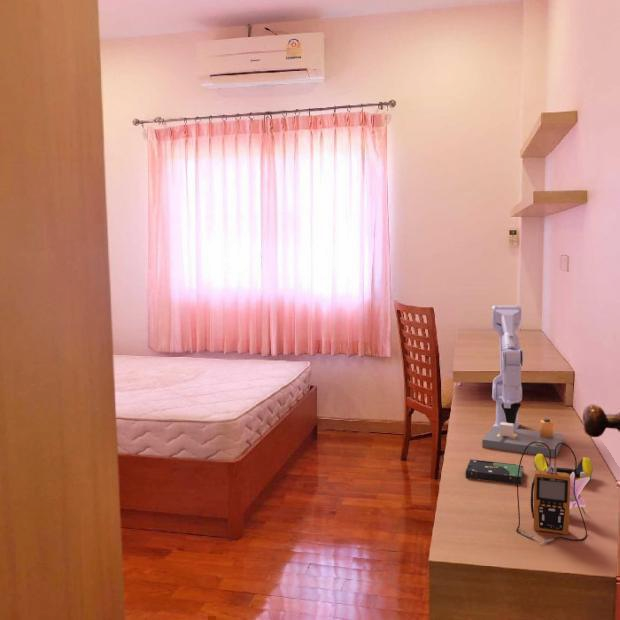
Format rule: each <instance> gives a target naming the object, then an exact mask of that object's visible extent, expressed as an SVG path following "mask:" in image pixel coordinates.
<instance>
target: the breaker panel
mask: <svg viewBox="0 0 620 620" xmlns="http://www.w3.org/2000/svg"><path fill="white" fill-rule="evenodd" d="M532 442H542V443H544V444H546V445H547V446H548V447H549V449H550V451H551V458H555V448H556V446H557V444H558V443H564V434H563V433H555V432H553V438H543V437H540V430H531V429H522V428H517V429H516V428H514V435H513V436H512V437H509V436H502V435H499V426H494V427H493V426H492V428H491V429H490V430H489V432H488V433H487V434H486V435H485V436H484V437H483V438H482V444H481V445H482V448H484V447H487V449H492V450H500V451H506V450H507V452H513V451H514V453H515V452H516V453H520V452H521V453H522V454H523V452H524V450H525V448H526V447H527V446H528V445H529V444H530V443H532ZM542 443H532V444H531V445H529V446H528V448H527V449H526V451H525V453H524V454H527V453H528V454H527V455H534V454H535V455H534V456H536V455H537V454H543V456H544V457H549V455H550V452H549V449H548V448H547V446H545V445H544V444H542ZM562 445H563V444H559V445H558V446H557V448H556V457H557V455H558V453H559V451H560V449H561V447H562Z"/></svg>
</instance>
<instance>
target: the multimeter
mask: <svg viewBox="0 0 620 620" xmlns="http://www.w3.org/2000/svg"><path fill="white" fill-rule="evenodd" d="M532 443H542V442H532ZM532 443H530V444H529V445H531V444H532ZM542 444H544V443H542ZM559 444H562V445H563V446H566V447H567V448H568V449H569V451H571V453H572V454H573V458H574V462H575V465H574V466H575V467H574V469H575V476H574V487H573V491H574V496H575V499H576V495H575V478H576V468H577V466H578V465H577V464H578V463H577V457H576V455H575V452H574V451H573V449H572V448H571V447H570V446H569V445H567V444H566V443H564V442H563V443H558V444H557V446H558V445H559ZM529 445H528V446H529ZM544 445H545V446H547V445H546V444H544ZM528 446H527V447H526V448H525V450H524V452H523V453H522V455H521V457H520V460H519V464H518V465H519V469H518V476H517V484H516V491H517V492H516V493H517V496H516V497H517V512H518V515H517V516H518V526H517V528H516V531H515V532H517V533H520V534H521V535H522V536H525V537H527V538H529V539H533V540H536V541H539V542H540V540H539V539H538V538H536V537H533V536H532V535H530V534H527V533H525V532H522V531H519V528H520V526H521V520H520V517H521V515H520V499H519V484H518V478H519V470H520V465H521V464H522V461H523V458H524V455H525V454H526V453H525V451H526V449H527V448H528ZM557 446H556V448H557ZM547 448H548V449H549V447H548V446H547ZM556 448H555V457H554V461H553V467H552V460H551V459H552V457H551V451H550V449H549V452H550V455H549V456H548V457H549V459H548V464H549V466H548V471H541V470H536V469H535V470H534V477H533V480H532V482H531V490H530V511H531V517H532V519H533V529H534V531H537V532H540V531H541V532H548V533H555V534H560V535H565V536H566V535H568V534H569V533H570V532H569V528H570V525H569V524H570V510H571V509H570V475H569V474H568V473H560V472H556V467H557V460H556V458H557V456H556ZM521 466H522V465H521ZM551 467H552V468H553V472H551ZM576 502H577V505H578V507H577V508H578V510H579V515H580V516H581V519H582V523H583V527H584V530H585V535H584V537H582V538H581V539H577V538H576V539H575V538H574V539H572V538H568V537H563V536H557V537H553V538H549V539H547V540H544V541H543V542H540V543H538V545H543V544H547V543H550V542H553V541H555V540H557V539H564V540H566V541H567V540H569V541H577V542H578V541H583V540H585V539H586V538H587V536H588V530H587V527H586V523H585V520H584V517H583V514H582V511H581V510H582V509H581V507H579V504H578V501H577V499H576ZM569 509H570V510H569Z"/></svg>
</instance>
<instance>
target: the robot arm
mask: <svg viewBox="0 0 620 620" xmlns="http://www.w3.org/2000/svg"><path fill="white" fill-rule="evenodd" d="M491 319H492V320H491V322H492V323H491V324H492V325H491V326H492V329H493V330H494V331H496V332H497V333H498V337H499V367H500V369H499V371H500V374H498V375H497V376H496V377H494V378H493V380H492V386H491V387H492V391H491V392H492V394H491V397H492V400H493V401H495V423H494V424H493V425H492V428H493V427H494V426H499V424H500V423H501V422H505V423H513V424H514V428H516V429H519V427H520V426H521V422H519V419H518V417H519V409H520V408H521V406H522V403H520V402H521V401H522V400H523V386H522V367H523V364H524V352H523V349H522V347H521V346H520V337H519V335H518V334H516V331H517V330H519V327H520V326H521V321H522V320H521V319H522V308H521V306H520V305H519V304H518V305H501V304H499V305H496V304H494V305H493V306H492V308H491Z"/></svg>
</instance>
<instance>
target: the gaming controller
mask: <svg viewBox="0 0 620 620" xmlns="http://www.w3.org/2000/svg"><path fill="white" fill-rule="evenodd" d="M545 457H546V456H543V454H537V455H534V460H533V464H534V465H533V466H534V468H535V470H541V471H548V466H549V462H548V461H547V459H546V458H545ZM577 464H578V465H577V467H576V478H575V480H578V479H581V478H585V477H590V479H589V481H590V480H591V478H592V475H593V468H594V467H593V466H594V465H593V463H592V461H591V459H590V457H587V456H586V457H585V456H584V457H582V458H581V460H580V461H579V463H577ZM551 472H553V467H552V466H551ZM556 472H560V473H568V474H569V475H571V473H572V472H574V474H575V468H568V467H557V466H556Z"/></svg>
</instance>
